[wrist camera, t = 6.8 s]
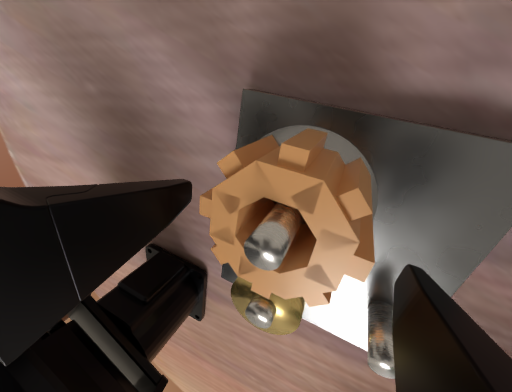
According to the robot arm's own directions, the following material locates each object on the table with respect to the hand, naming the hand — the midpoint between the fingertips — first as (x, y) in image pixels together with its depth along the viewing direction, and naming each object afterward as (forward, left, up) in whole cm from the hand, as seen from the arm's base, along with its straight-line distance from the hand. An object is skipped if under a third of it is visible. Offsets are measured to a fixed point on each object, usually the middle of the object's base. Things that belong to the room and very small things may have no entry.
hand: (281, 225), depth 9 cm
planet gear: (0, 0, -3) cm, 3 cm away
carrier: (-2, -2, -4) cm, 5 cm away
